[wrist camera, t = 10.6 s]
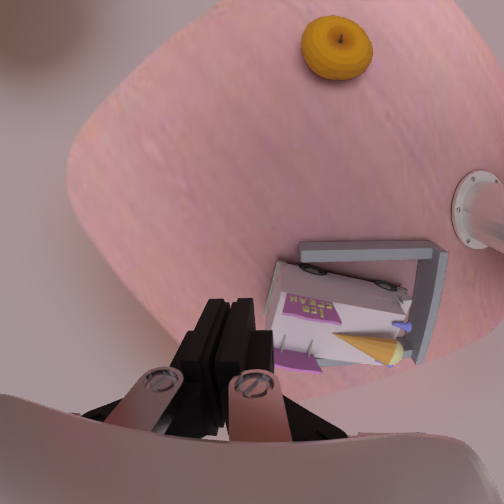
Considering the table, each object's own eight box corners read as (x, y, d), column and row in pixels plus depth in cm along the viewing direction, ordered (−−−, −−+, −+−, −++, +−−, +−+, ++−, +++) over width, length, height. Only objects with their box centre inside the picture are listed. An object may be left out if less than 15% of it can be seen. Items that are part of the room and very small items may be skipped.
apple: (369, 56, 32) (392, 34, 23) (342, 100, 34) (361, 85, 26) (316, 24, 31) (326, -6, 22) (285, 67, 33) (289, 43, 25)
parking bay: (428, 240, 39) (448, 252, 33) (410, 342, 44) (423, 363, 38) (298, 242, 40) (302, 255, 34) (296, 352, 45) (298, 376, 40)
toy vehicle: (381, 330, 44) (414, 392, 29) (262, 309, 44) (258, 375, 29) (402, 278, 41) (450, 329, 27) (277, 250, 41) (281, 299, 26)
